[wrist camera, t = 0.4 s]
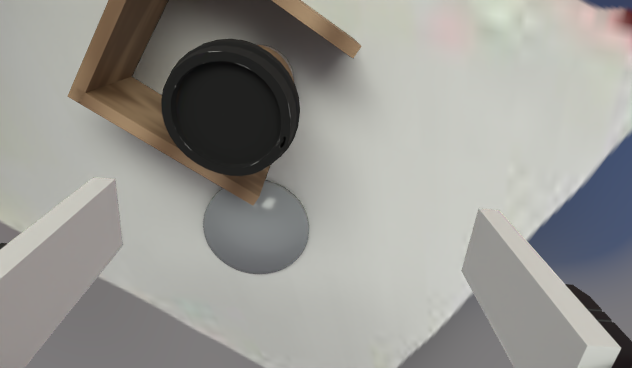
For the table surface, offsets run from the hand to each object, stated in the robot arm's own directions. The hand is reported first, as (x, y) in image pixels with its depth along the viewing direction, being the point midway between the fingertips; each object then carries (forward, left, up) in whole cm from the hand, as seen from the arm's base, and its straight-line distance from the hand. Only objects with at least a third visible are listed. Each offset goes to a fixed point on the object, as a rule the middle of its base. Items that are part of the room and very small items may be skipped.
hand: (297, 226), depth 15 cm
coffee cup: (-5, -1, -25) cm, 26 cm away
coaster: (+3, -15, -25) cm, 29 cm away
